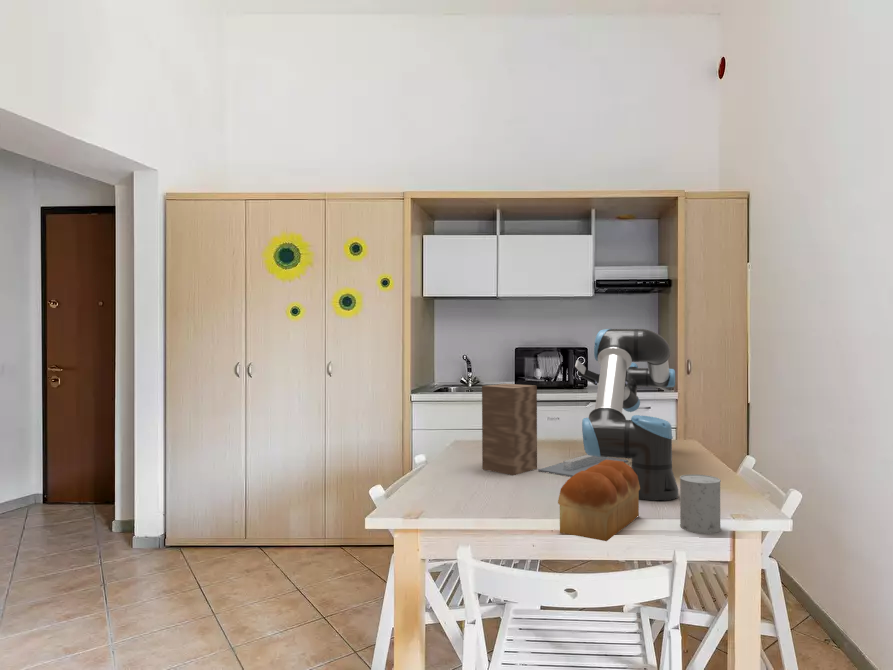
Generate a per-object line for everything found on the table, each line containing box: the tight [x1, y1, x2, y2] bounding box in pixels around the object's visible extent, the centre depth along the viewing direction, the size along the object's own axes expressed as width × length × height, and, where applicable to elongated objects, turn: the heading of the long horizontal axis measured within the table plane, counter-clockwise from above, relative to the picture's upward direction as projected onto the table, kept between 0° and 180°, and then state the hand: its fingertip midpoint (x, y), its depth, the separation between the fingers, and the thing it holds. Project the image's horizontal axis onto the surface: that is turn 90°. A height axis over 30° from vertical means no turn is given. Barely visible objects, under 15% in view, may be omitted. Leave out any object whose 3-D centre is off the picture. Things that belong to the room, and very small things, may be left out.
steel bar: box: [562, 454, 607, 471], centre depth 232 cm, size 26×3×3 cm, turn 138°
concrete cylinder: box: [679, 473, 722, 535], centre depth 159 cm, size 10×10×12 cm
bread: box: [557, 460, 640, 542], centre depth 162 cm, size 25×12×15 cm, turn 146°
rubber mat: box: [537, 457, 629, 477], centre depth 232 cm, size 36×16×1 cm, turn 137°
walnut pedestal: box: [481, 383, 538, 476], centre depth 228 cm, size 14×14×30 cm
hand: (592, 363), depth 236 cm, fingers open, 13 cm apart
